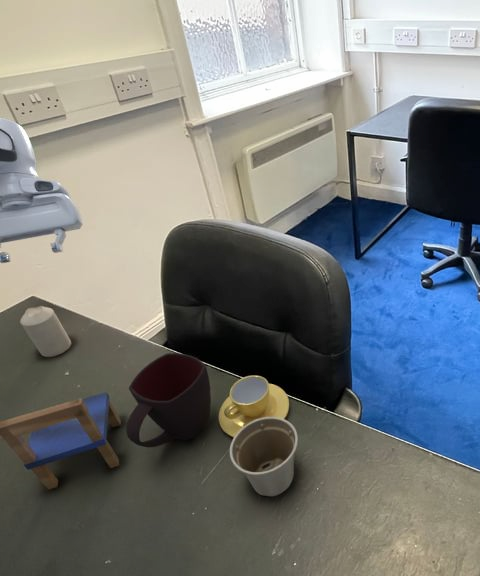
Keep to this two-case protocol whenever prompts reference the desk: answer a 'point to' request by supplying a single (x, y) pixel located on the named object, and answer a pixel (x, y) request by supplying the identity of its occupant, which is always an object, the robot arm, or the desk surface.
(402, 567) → the desk surface
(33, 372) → the desk surface
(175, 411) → the mug
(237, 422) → the cup
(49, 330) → the candle
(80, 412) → the chair
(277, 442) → the flower pot
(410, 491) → the desk surface
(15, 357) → the desk surface
